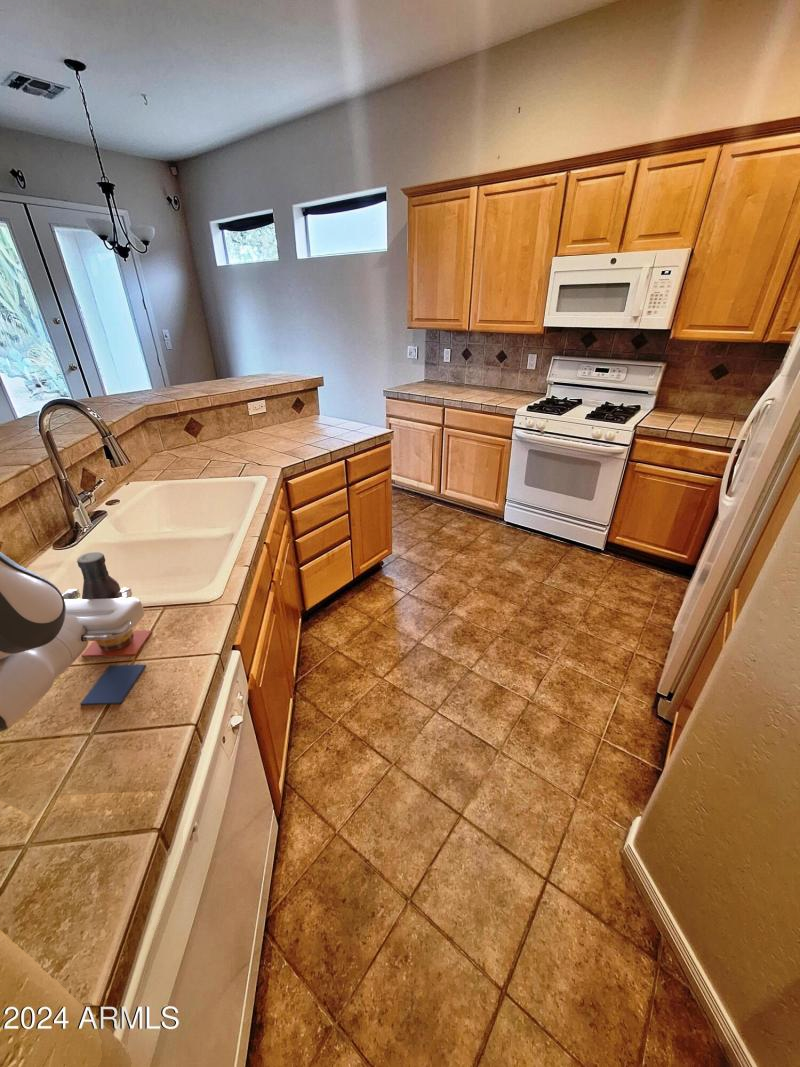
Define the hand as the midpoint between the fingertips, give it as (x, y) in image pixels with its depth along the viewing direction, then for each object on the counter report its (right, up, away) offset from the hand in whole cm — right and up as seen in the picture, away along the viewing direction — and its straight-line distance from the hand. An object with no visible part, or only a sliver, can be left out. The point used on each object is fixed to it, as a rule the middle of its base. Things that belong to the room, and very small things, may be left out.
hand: (101, 591), depth 81 cm
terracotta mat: (0, -11, +5) cm, 12 cm away
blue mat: (+5, -16, -4) cm, 18 cm away
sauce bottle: (0, -11, +5) cm, 12 cm away
